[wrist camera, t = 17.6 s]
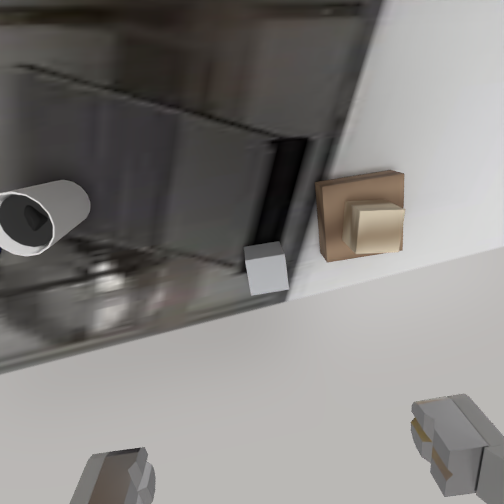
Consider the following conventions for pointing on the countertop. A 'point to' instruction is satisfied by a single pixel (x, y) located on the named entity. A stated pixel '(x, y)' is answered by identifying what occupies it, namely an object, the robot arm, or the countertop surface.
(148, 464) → the robot arm
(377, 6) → the countertop surface
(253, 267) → the grey block
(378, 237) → the ash block
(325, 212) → the walnut block
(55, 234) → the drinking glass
